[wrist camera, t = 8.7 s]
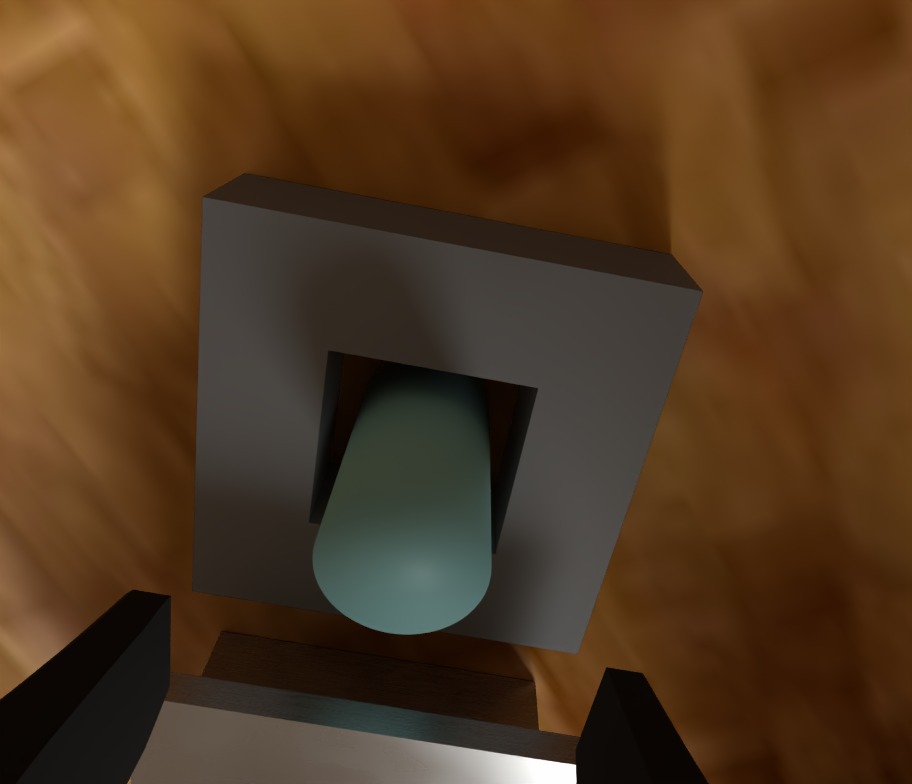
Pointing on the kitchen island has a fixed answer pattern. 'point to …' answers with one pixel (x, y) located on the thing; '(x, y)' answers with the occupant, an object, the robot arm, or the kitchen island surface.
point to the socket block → (436, 347)
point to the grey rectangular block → (347, 722)
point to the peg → (411, 504)
